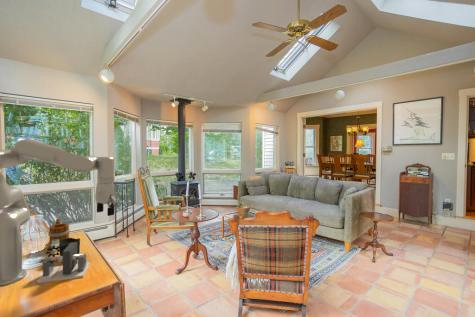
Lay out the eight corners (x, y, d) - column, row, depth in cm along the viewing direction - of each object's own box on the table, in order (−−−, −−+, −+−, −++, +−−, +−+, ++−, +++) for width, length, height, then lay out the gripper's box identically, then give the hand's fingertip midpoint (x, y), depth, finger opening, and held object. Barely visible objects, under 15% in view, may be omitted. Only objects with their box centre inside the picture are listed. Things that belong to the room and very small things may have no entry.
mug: (49, 251, 137) (48, 226, 136) (46, 242, 149) (46, 219, 148) (71, 246, 144) (71, 222, 144) (67, 238, 156) (67, 216, 156)
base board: (36, 283, 106) (36, 281, 106) (48, 269, 118) (48, 267, 118) (83, 277, 112) (83, 274, 112) (90, 264, 124) (90, 262, 124)
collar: (62, 274, 110) (62, 251, 110) (70, 263, 120) (70, 242, 120) (70, 273, 111) (70, 251, 111) (77, 262, 121) (77, 242, 121)
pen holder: (78, 252, 137) (78, 236, 136) (81, 258, 130) (81, 240, 130) (57, 257, 130) (57, 240, 130) (60, 264, 123) (60, 245, 123)
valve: (48, 250, 138) (46, 259, 128) (48, 239, 138) (45, 247, 128) (62, 248, 142) (61, 256, 132) (62, 237, 142) (60, 244, 132)
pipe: (42, 276, 110) (42, 260, 110) (47, 271, 115) (47, 255, 114) (83, 271, 116) (83, 255, 115) (86, 266, 120) (86, 251, 120)
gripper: (89, 179, 122) (88, 212, 122) (108, 183, 113) (107, 218, 114) (103, 178, 128) (103, 209, 129) (122, 181, 119) (122, 214, 120)
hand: (105, 213), depth 121 cm, fingers open, 9 cm apart
